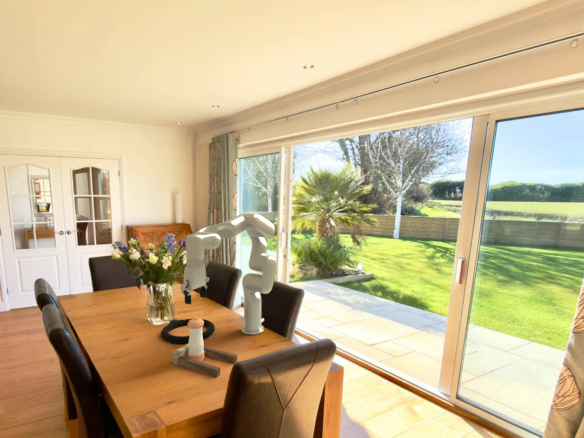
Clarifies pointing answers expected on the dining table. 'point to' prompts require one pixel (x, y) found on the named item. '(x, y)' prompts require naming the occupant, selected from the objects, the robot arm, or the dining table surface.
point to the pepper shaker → (196, 340)
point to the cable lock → (184, 339)
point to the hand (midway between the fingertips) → (195, 300)
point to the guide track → (183, 361)
